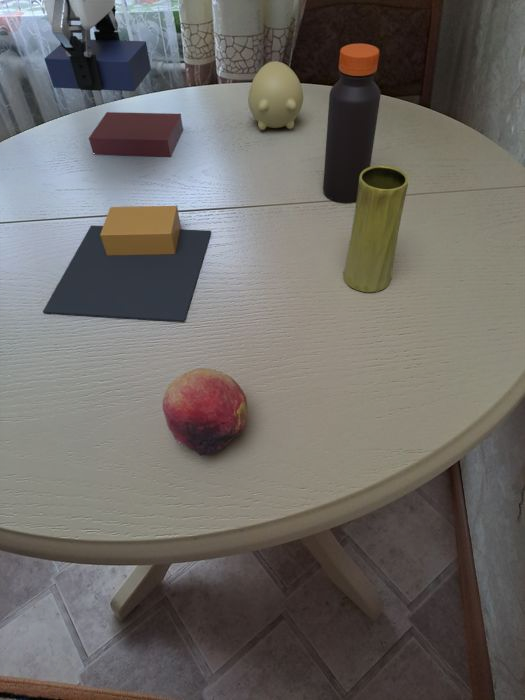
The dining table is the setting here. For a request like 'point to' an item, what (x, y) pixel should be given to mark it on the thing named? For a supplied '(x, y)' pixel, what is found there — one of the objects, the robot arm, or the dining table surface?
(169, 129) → the bottom book
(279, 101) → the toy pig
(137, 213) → the top book
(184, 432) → the fruit
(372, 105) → the bottle
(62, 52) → the middle book
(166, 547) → the dining table surface
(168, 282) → the desk mat
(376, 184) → the vase
